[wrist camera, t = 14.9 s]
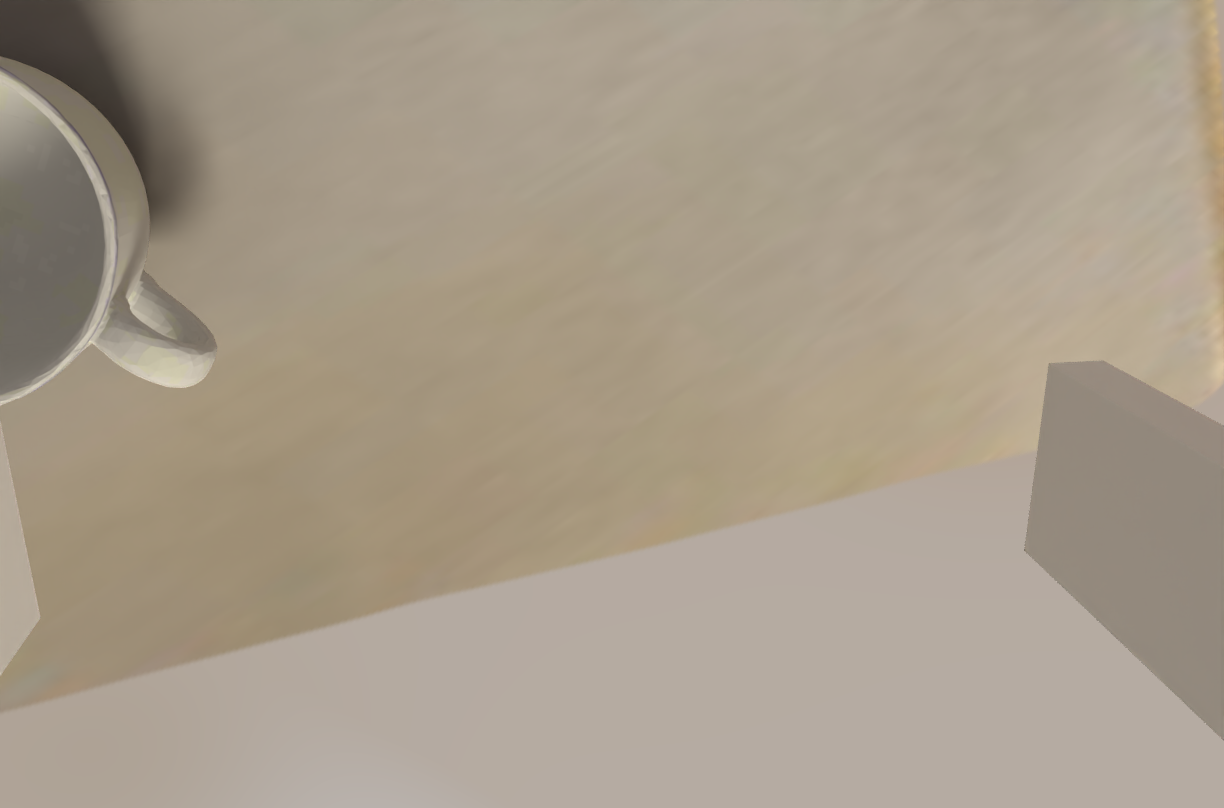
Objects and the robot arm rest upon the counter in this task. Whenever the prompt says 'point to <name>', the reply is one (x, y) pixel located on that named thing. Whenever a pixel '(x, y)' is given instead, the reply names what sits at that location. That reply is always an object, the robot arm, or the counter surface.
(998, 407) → the counter surface
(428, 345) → the counter surface
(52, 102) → the teacup
